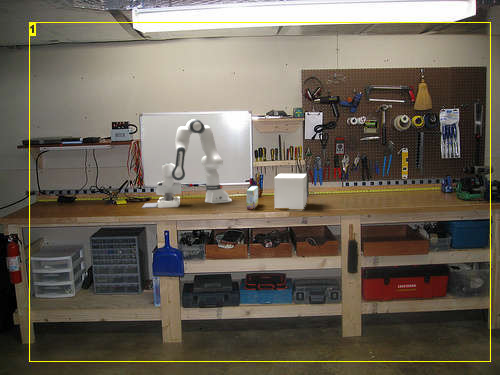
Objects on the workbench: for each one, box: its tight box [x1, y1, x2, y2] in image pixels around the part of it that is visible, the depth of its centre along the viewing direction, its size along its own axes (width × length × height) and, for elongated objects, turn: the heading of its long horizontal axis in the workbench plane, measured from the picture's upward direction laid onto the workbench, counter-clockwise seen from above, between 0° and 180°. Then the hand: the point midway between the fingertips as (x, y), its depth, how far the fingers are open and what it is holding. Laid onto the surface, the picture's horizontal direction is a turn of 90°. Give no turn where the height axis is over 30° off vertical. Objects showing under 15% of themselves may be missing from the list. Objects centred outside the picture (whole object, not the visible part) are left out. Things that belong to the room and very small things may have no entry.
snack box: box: [246, 185, 259, 210], centre depth 288 cm, size 21×6×15 cm, turn 168°
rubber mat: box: [141, 202, 158, 209], centre depth 302 cm, size 11×16×1 cm
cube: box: [273, 173, 308, 210], centre depth 286 cm, size 25×21×24 cm
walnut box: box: [164, 193, 174, 201], centre depth 303 cm, size 5×12×9 cm, turn 6°
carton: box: [157, 196, 181, 209], centre depth 304 cm, size 16×18×5 cm
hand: (169, 199), depth 304 cm, fingers closed on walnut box, 5 cm apart
